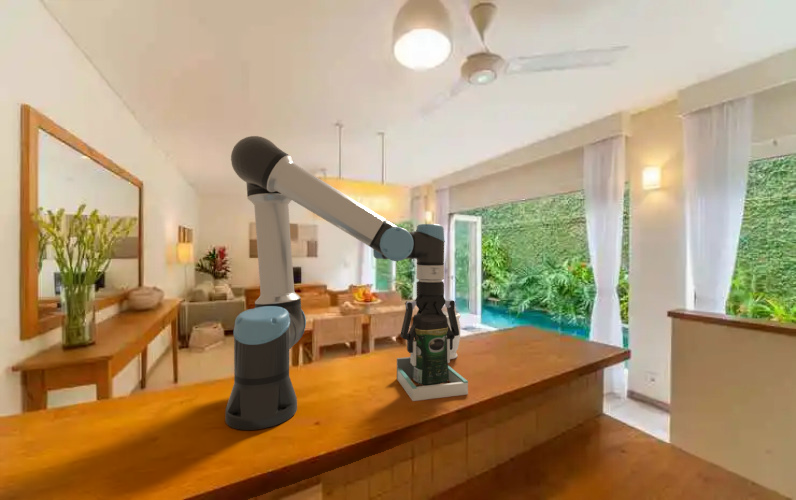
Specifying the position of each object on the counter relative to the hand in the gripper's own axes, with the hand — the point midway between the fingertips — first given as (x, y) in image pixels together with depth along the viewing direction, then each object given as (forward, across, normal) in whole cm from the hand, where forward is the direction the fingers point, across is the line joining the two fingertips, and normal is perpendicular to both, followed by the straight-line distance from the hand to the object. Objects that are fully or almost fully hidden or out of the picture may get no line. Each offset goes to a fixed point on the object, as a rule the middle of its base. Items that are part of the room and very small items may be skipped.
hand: (430, 362), depth 93 cm
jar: (+7, +15, +24) cm, 28 cm away
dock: (+6, 0, 0) cm, 6 cm away
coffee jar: (+5, 0, 0) cm, 5 cm away
